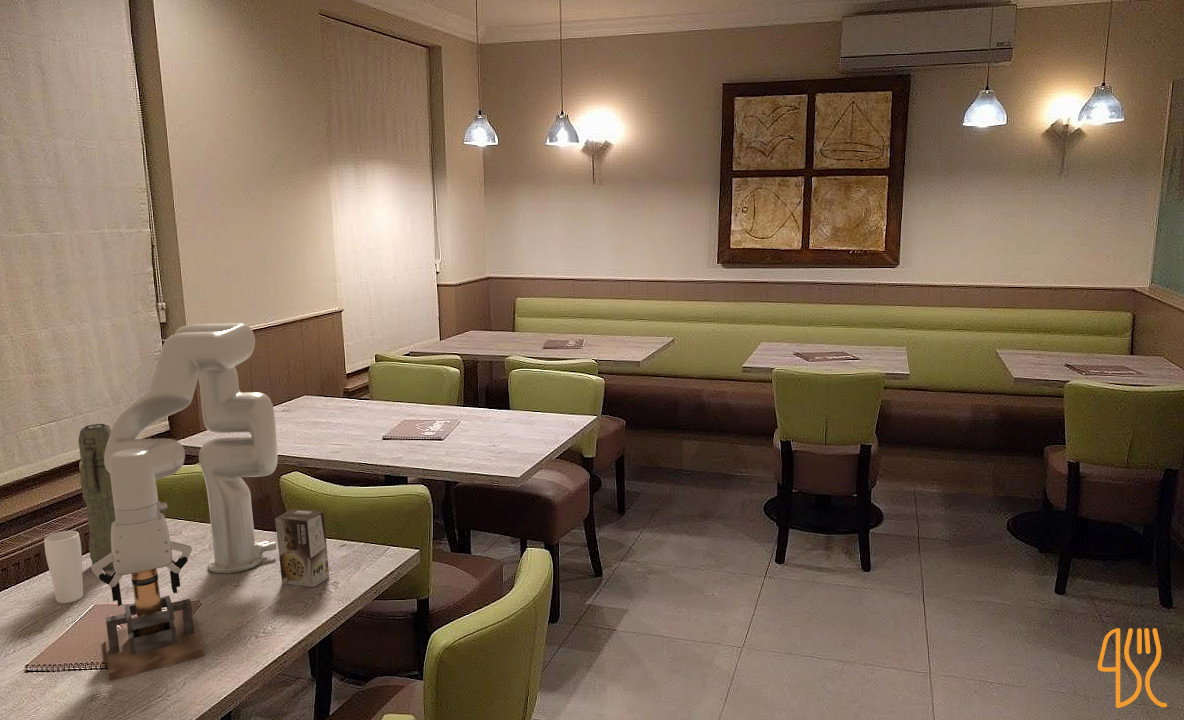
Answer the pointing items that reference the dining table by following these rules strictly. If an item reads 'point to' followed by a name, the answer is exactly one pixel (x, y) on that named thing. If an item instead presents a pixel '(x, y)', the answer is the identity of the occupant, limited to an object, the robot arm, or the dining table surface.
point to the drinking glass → (65, 565)
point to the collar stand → (151, 639)
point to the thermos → (97, 490)
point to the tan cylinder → (147, 598)
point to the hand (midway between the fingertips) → (147, 596)
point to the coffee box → (302, 547)
